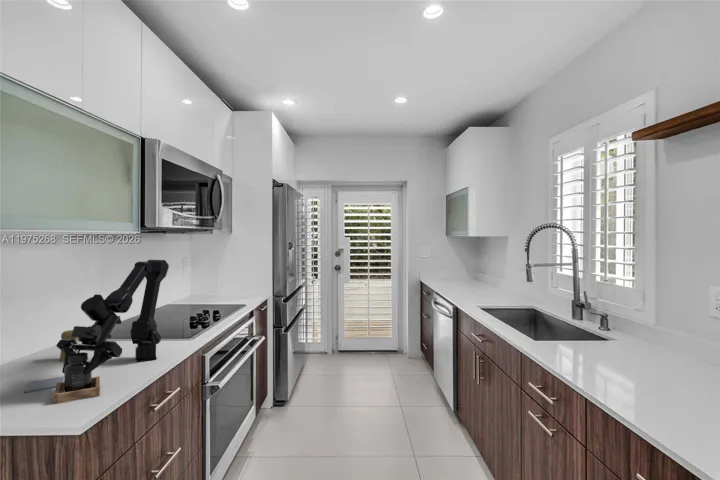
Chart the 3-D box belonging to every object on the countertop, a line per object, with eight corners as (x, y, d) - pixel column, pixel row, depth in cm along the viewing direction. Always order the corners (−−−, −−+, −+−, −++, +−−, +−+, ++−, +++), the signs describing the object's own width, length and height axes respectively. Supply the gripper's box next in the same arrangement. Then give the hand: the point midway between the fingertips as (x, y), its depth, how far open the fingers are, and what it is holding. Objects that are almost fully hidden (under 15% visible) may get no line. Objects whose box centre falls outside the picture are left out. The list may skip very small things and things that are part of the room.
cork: (68, 362, 146) (68, 333, 146) (55, 360, 148) (55, 332, 147) (82, 357, 152) (83, 329, 152) (70, 356, 154) (70, 328, 153)
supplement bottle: (96, 388, 123) (97, 351, 123) (81, 398, 116) (82, 358, 116) (74, 388, 122) (74, 350, 122) (58, 397, 116) (58, 357, 115)
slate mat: (63, 377, 131) (63, 376, 131) (61, 386, 124) (61, 385, 124) (28, 383, 126) (28, 381, 126) (24, 392, 119) (24, 391, 119)
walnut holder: (99, 383, 127) (99, 376, 127) (99, 395, 118) (99, 387, 118) (56, 390, 121) (56, 382, 121) (53, 403, 112) (53, 395, 112)
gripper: (61, 313, 124) (28, 359, 113) (116, 316, 122) (88, 362, 111) (81, 332, 132) (52, 376, 121) (133, 334, 130) (108, 379, 119)
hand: (74, 373), depth 118 cm, fingers closed on supplement bottle, 7 cm apart
